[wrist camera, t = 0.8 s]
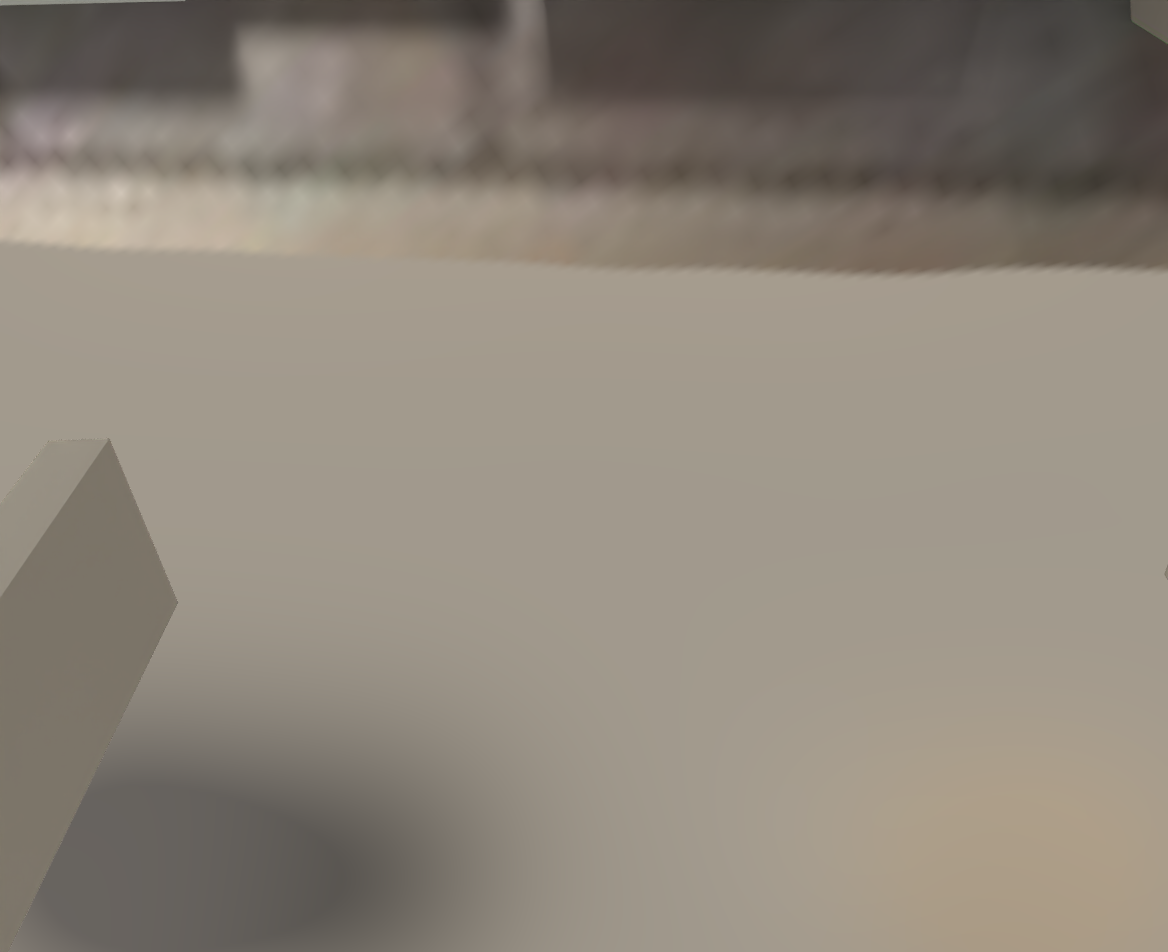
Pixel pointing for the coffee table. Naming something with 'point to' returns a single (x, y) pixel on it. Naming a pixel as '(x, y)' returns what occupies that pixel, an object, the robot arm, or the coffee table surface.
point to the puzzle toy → (1151, 17)
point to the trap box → (71, 1)
